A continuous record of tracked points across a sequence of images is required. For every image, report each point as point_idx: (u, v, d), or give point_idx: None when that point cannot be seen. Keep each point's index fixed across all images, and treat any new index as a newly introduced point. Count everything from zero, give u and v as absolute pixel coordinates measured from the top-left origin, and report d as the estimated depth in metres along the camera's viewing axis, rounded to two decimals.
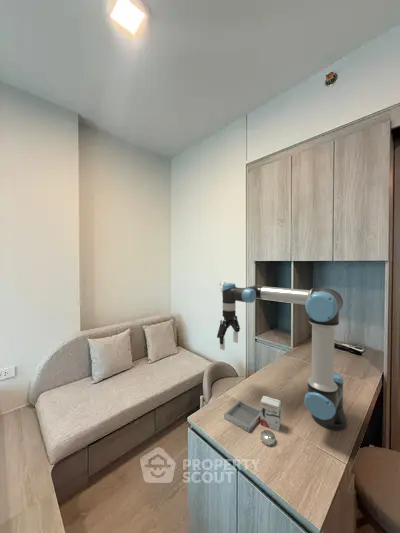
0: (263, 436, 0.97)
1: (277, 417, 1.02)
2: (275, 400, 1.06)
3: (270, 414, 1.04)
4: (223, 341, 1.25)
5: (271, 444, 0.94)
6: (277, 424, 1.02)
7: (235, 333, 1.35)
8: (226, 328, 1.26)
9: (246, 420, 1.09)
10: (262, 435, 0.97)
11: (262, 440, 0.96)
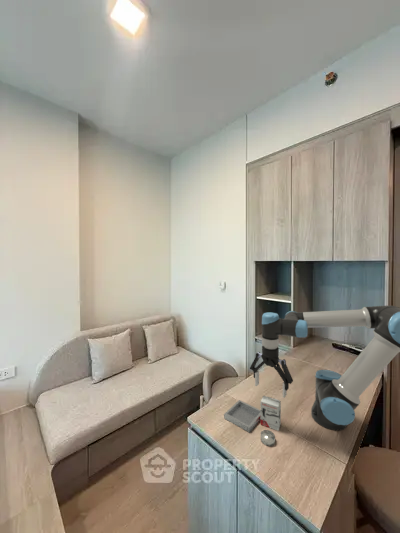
0: (263, 436, 0.97)
1: (277, 417, 1.02)
2: (275, 400, 1.06)
3: (270, 414, 1.04)
4: (255, 375, 1.10)
5: (271, 444, 0.94)
6: (277, 424, 1.02)
7: None
8: (260, 364, 1.07)
9: (246, 420, 1.09)
10: (262, 435, 0.97)
11: (262, 440, 0.96)
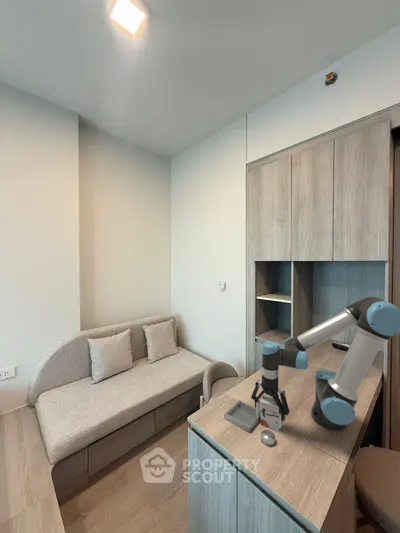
0: (263, 436, 0.97)
1: (277, 417, 1.02)
2: None
3: (270, 414, 1.04)
4: (256, 405, 1.10)
5: (272, 444, 0.94)
6: (277, 424, 1.02)
7: None
8: (260, 393, 1.08)
9: (246, 420, 1.09)
10: (262, 435, 0.97)
11: (262, 440, 0.96)
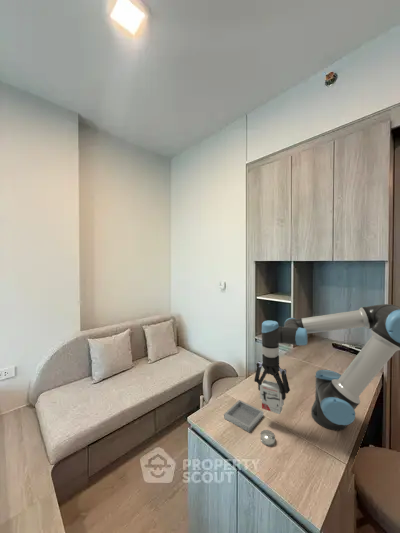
0: (263, 436, 0.96)
1: (278, 400, 1.02)
2: (276, 383, 1.06)
3: (271, 397, 1.03)
4: (260, 388, 1.08)
5: (272, 443, 0.94)
6: (278, 407, 1.02)
7: None
8: (263, 374, 1.07)
9: (246, 420, 1.09)
10: (262, 435, 0.97)
11: (262, 440, 0.96)
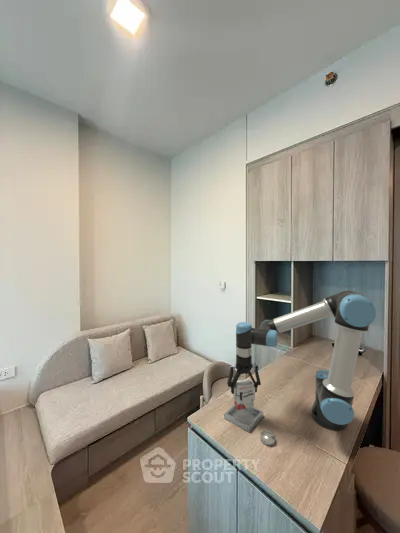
0: (263, 436, 0.96)
1: (252, 394, 1.09)
2: (245, 380, 1.12)
3: (247, 395, 1.09)
4: (234, 391, 1.09)
5: (272, 443, 0.94)
6: (252, 401, 1.09)
7: None
8: (237, 376, 1.09)
9: (246, 420, 1.09)
10: (262, 435, 0.97)
11: (262, 440, 0.96)
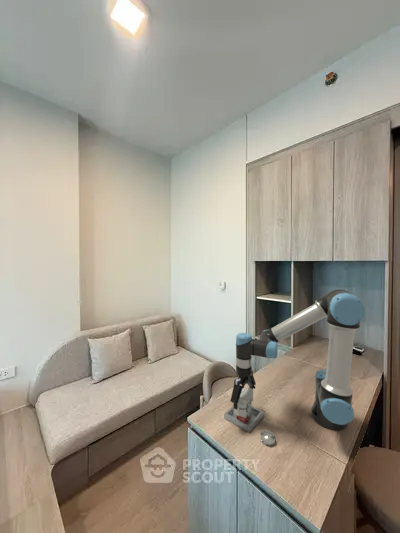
0: (263, 437, 0.96)
1: (251, 401, 1.13)
2: (242, 390, 1.13)
3: (249, 404, 1.10)
4: (238, 405, 1.05)
5: (272, 443, 0.95)
6: None
7: (250, 390, 1.15)
8: (241, 389, 1.06)
9: None
10: (262, 436, 0.97)
11: (263, 441, 0.96)
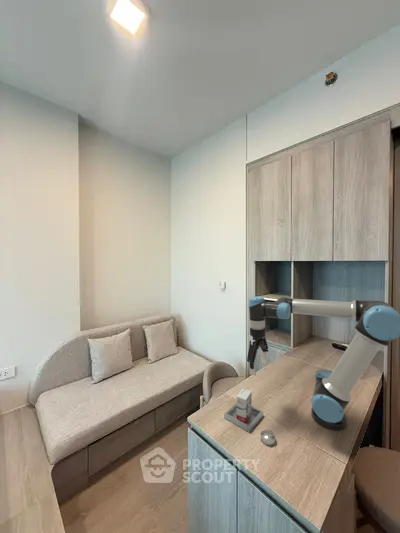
0: (263, 437, 0.96)
1: (251, 401, 1.13)
2: (242, 390, 1.13)
3: (249, 404, 1.10)
4: (254, 365, 1.07)
5: (273, 443, 0.95)
6: None
7: (263, 353, 1.18)
8: (256, 350, 1.09)
9: None
10: (263, 436, 0.97)
11: (263, 441, 0.95)
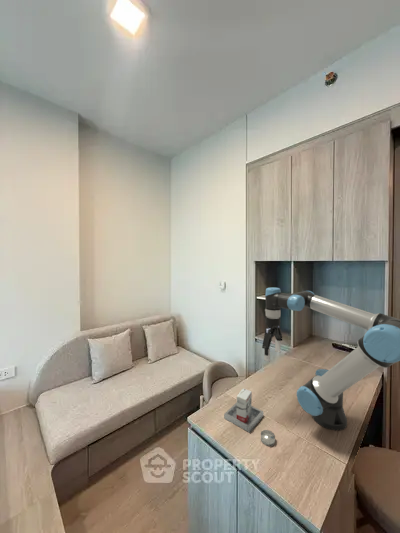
0: (264, 437, 0.96)
1: (251, 401, 1.13)
2: (242, 390, 1.13)
3: (249, 404, 1.10)
4: (268, 352, 1.13)
5: (273, 443, 0.95)
6: None
7: (278, 342, 1.23)
8: (271, 337, 1.14)
9: None
10: (263, 436, 0.97)
11: (263, 441, 0.95)
